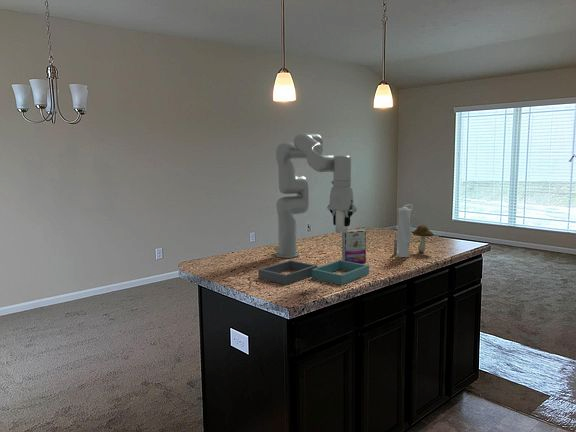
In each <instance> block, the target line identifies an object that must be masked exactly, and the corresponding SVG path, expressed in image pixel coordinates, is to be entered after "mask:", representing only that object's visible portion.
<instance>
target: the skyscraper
mask: <svg viewBox="0 0 576 432" xmlns="http://www.w3.org/2000/svg"><path fill="white" fill-rule="evenodd" d="M407 206H411V208H409V207H407ZM413 208H414V204H411V203H408V204H405V205H404V206H403V207H398V208H397V212H398V213H397V214H398V223H397V227H396V228H397V229H396V234H395V235H394V236H395V237H394V245H393V254H392V255H393V256H394V257H395V258H396V257H397V258H400V259H401V257H402V258H403V257H410V258H411V256H410V254H409V251H410V245H411V241H412V223H411V219H410V218H411V216H412V212H413ZM403 259H404V258H403Z"/></svg>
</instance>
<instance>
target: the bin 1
mask: <svg viewBox="0 0 576 432" xmlns="http://www.w3.org/2000/svg"><path fill="white" fill-rule="evenodd" d="M317 267H318V265H317V264H311V263H306V262H301V261H297V260H292V259H290V260H286V261H283V262H279V263H276V264H273V265H268V266H265V267H262V268H258V277H257V278H258V279H260V278H261V279H260V280H264V279H265V280H264V281H269V282H273V283H276V284H281V285H285V286H287V284H288V285H291V284H293V283H296V282H299V281H301V280H304V279H307V278H312V269H314V268H317ZM286 270H287V271H289V270H291V271H292V270H293V272H290V273H286V274H284V273H283V271H284V272H286Z"/></svg>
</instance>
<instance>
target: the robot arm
mask: <svg viewBox="0 0 576 432" xmlns="http://www.w3.org/2000/svg"><path fill="white" fill-rule="evenodd" d="M323 145H324V141H323V137H322V136H321V135H320V134H318V133H309V132H308V133H306V132H305V133H304V132H303V133H302V132H301V133H299V134H297V135H296V136H295V137H294V139H293V141H287V142H286V141H285V142H281V143H279V144H278V145H277V148H276V149H275V160H276V162H277V167H278V168H277V169H278V189H279V192H280V193H281V194H284V195H288V194H289V196H282V197H280V198H278V199H277V200H276V204H275V206H276V212H277V219H278V221H277V225H278V226H277V227H278V228H277V229H278V234H277V235H278V236H277V237H278V245H275V247H273V250H274V251H276V252H275V256H276V257H277V258H281V259H294V258H298V257H300V252H298V251H297V221H296V219H295V218H294V215H299V214H300V215H301V214H305V213H307V212H308V209H309V205H310V203H309V202H310V200H309V199H310V198H309V196H310V195H309V193H310V192H309V182H308V179H307V177H306V176H304V175H301V174H300V175H299V174H298V175H296V174H295V173H296V172H295V171H296V170H295V169H296V168H295V165H294V163H293V162H292V160H305V159H306V162H307V164H308V166H309V167H310V168H311V169H313V170H314V171H316V172H319V173H333V180H332V181H331V185H332V187H331V189H330V194H329V204H328V205H327V209H328V211H329V212H330V213H331V216H332V222H333V223H332V224H333V225H334V226H336V210H341V211H345V215H346V217H345V226H347V227H350V226H351V217H352V216H353V215H354V214H355V213H356V212H357V211H358V209H357V207H356V206H355V203H354V192H353V187H352V186H351V183H352V181H351V179H352V157H351V156H350V155H340V154H323V152H324V148H323ZM291 194H296V195H293V196H291Z"/></svg>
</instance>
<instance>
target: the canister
mask: <svg viewBox="0 0 576 432" xmlns="http://www.w3.org/2000/svg"><path fill="white" fill-rule="evenodd" d="M345 217H346V215H345V211H341V210H336V225H335V233H340V234H342V233H345V232H347V230H348V226H345Z"/></svg>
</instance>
